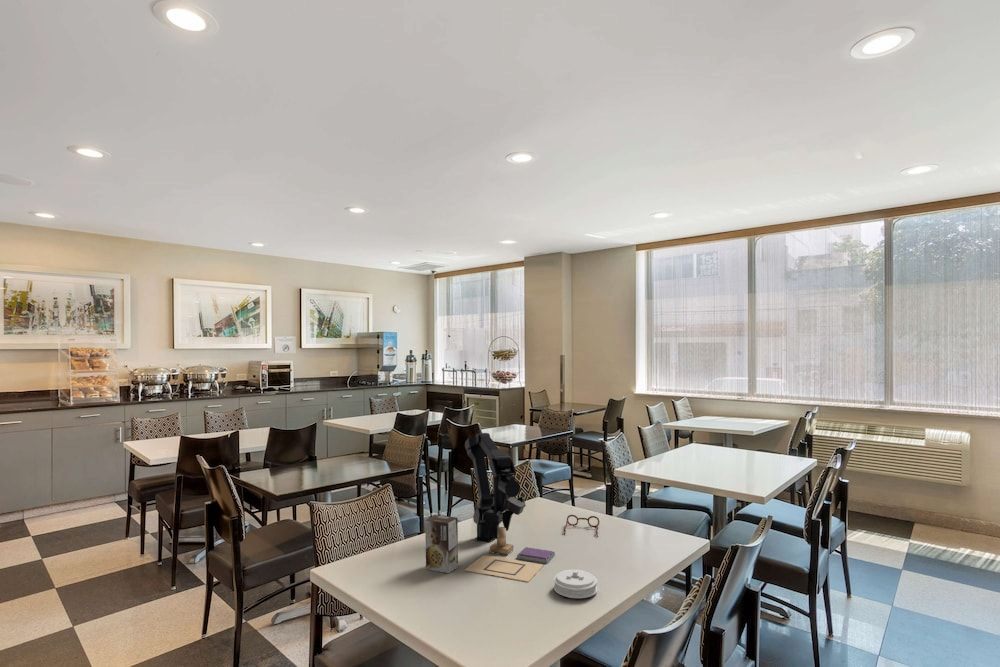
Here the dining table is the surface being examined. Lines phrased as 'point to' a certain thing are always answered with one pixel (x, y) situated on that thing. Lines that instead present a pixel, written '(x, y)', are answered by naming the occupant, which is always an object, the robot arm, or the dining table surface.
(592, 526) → the glasses
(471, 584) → the dining table surface
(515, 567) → the stamp board
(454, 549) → the coffee box
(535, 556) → the ink pad
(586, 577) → the lid
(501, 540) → the stamp
